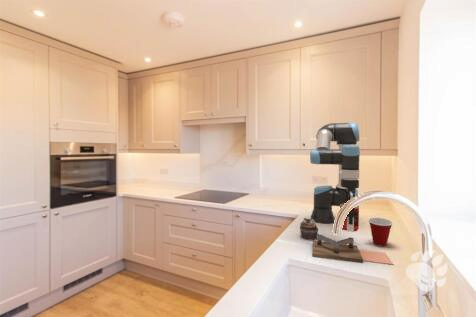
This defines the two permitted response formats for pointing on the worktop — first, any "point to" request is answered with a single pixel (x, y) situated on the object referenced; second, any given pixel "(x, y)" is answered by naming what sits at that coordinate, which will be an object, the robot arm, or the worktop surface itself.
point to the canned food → (356, 219)
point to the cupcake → (308, 229)
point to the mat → (375, 257)
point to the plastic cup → (380, 230)
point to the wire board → (342, 254)
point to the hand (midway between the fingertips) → (348, 228)
